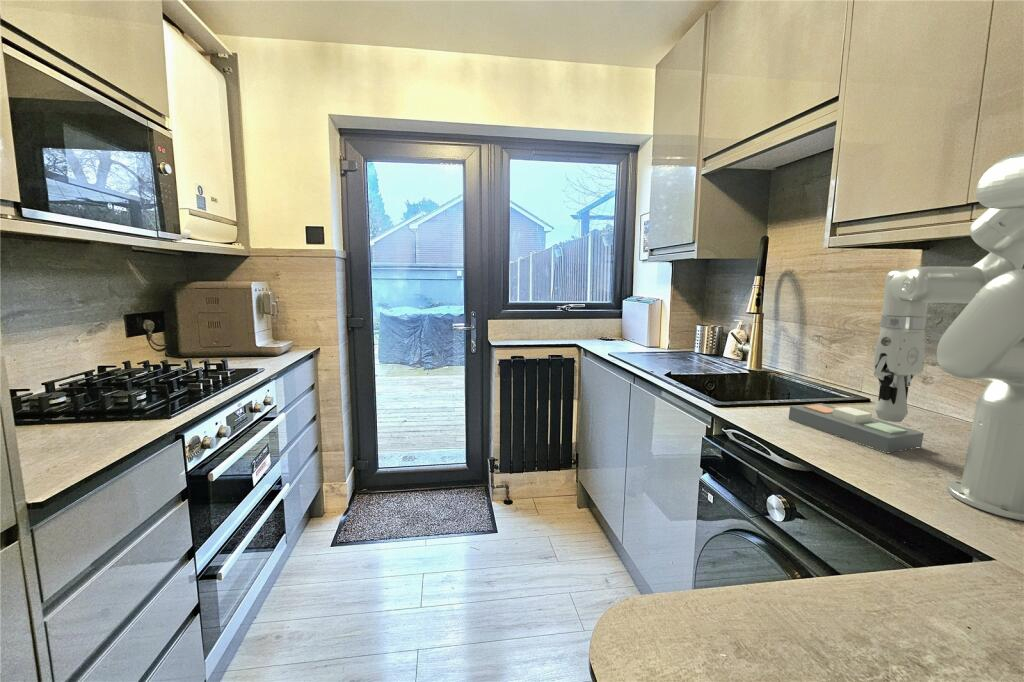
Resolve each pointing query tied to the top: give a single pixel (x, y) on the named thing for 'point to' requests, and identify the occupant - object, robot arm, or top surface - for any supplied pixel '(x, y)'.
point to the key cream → (852, 415)
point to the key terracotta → (820, 409)
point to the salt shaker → (890, 410)
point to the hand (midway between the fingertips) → (892, 401)
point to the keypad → (857, 430)
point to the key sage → (885, 428)
